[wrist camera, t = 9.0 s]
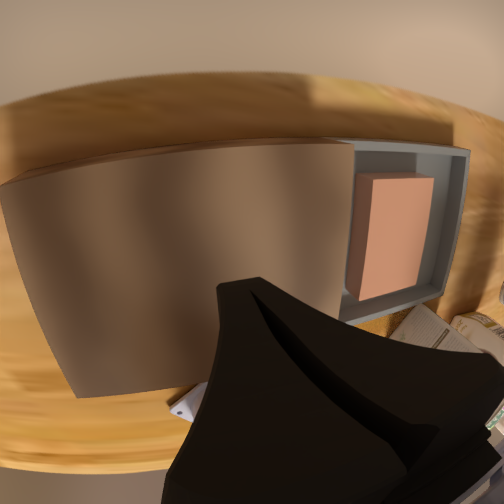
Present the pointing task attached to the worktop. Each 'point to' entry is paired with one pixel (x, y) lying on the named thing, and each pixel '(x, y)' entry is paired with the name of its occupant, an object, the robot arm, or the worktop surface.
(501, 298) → the canned food
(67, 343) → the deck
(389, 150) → the tray
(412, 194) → the tile
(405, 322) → the syrup box
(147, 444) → the worktop surface
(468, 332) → the juice carton
